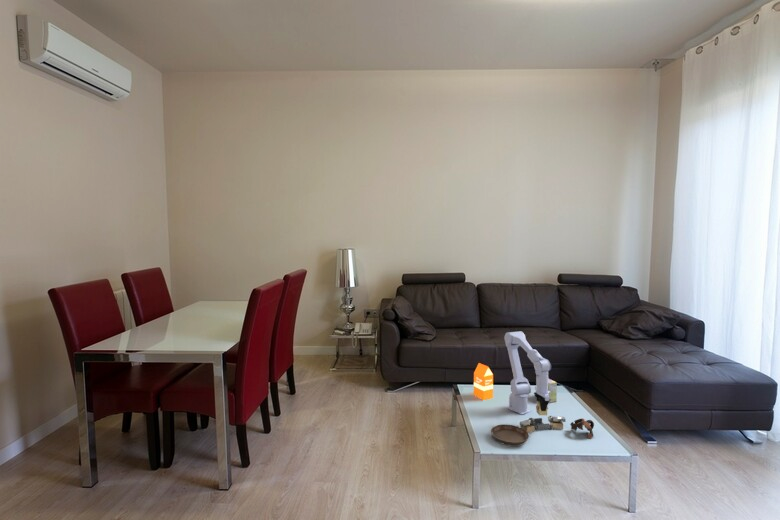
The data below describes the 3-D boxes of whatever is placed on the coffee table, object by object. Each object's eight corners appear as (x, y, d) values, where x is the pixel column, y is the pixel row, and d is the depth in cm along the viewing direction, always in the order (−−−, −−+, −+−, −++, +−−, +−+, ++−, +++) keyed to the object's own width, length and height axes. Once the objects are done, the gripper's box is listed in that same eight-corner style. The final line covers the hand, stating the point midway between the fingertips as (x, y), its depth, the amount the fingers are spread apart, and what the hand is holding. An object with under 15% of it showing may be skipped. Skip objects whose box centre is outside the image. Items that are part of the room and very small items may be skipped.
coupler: (537, 415, 197) (538, 403, 197) (534, 411, 201) (535, 400, 201) (548, 415, 197) (549, 403, 197) (545, 411, 201) (546, 400, 201)
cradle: (537, 430, 194) (537, 425, 193) (530, 423, 201) (530, 418, 200) (549, 429, 195) (549, 424, 195) (541, 422, 202) (541, 417, 202)
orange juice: (483, 400, 229) (483, 368, 228) (473, 395, 237) (473, 363, 236) (493, 398, 233) (493, 365, 232) (483, 393, 241) (483, 361, 240)
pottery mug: (587, 442, 183) (578, 425, 185) (573, 442, 191) (564, 425, 193) (603, 430, 188) (593, 414, 190) (588, 430, 196) (579, 415, 198)
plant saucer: (489, 428, 196) (489, 422, 196) (525, 431, 194) (525, 425, 193) (492, 447, 179) (492, 440, 179) (532, 450, 176) (532, 443, 176)
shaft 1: (529, 426, 198) (529, 415, 197) (536, 430, 194) (536, 419, 193) (518, 430, 194) (518, 419, 194) (524, 433, 190) (524, 422, 190)
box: (536, 396, 235) (537, 377, 235) (544, 395, 237) (545, 376, 237) (548, 403, 226) (549, 383, 225) (556, 401, 227) (557, 382, 227)
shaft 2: (550, 428, 195) (550, 418, 195) (547, 424, 199) (547, 414, 199) (566, 429, 195) (566, 418, 194) (562, 425, 199) (563, 414, 199)
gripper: (555, 388, 191) (555, 415, 192) (544, 378, 205) (544, 402, 206) (541, 388, 191) (541, 415, 192) (531, 378, 206) (531, 402, 206)
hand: (541, 408), depth 199 cm, fingers closed on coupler, 4 cm apart
